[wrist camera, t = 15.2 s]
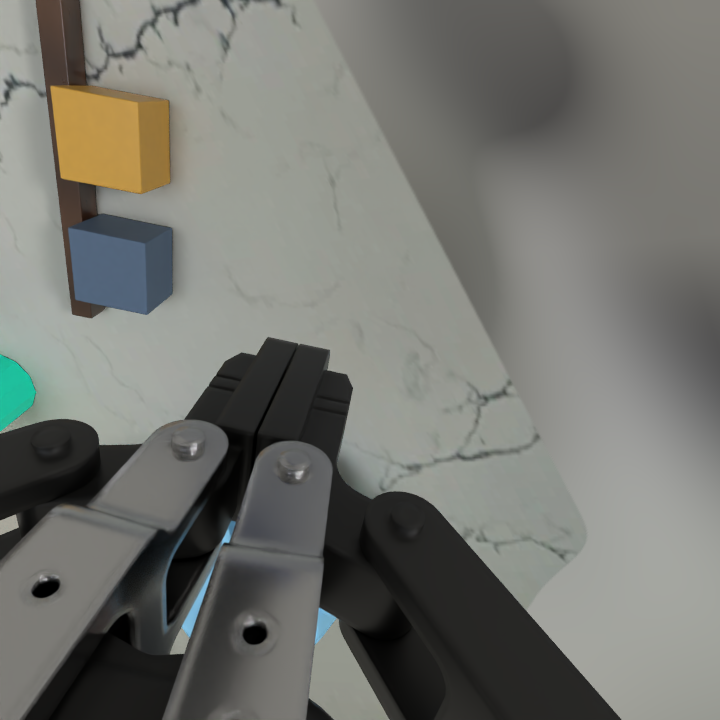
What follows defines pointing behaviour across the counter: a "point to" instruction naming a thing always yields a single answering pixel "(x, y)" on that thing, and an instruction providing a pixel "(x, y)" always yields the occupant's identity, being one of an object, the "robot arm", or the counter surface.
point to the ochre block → (111, 137)
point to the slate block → (121, 263)
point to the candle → (14, 391)
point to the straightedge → (60, 68)
